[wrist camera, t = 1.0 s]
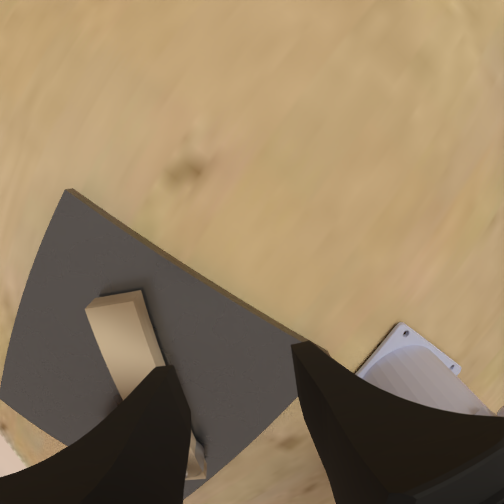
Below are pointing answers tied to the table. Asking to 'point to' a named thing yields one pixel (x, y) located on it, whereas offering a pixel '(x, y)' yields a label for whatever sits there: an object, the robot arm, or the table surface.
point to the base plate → (165, 328)
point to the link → (133, 352)
